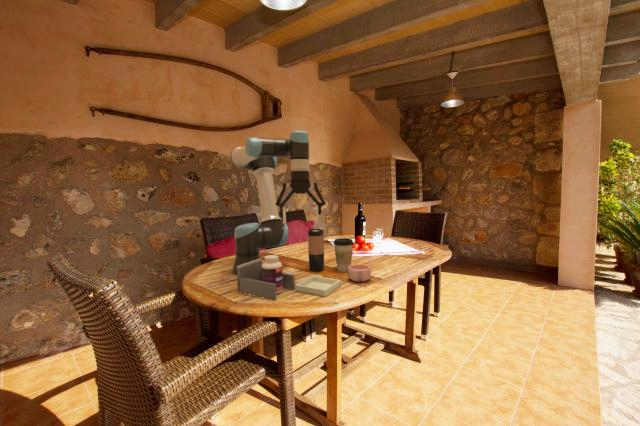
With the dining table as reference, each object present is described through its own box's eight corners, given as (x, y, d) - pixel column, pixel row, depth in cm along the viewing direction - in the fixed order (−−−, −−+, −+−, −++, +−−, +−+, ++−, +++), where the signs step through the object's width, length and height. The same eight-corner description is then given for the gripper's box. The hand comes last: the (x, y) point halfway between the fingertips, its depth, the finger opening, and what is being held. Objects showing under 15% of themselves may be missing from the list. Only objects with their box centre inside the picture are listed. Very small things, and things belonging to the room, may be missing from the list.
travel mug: (326, 268, 152) (325, 229, 150) (321, 272, 145) (320, 231, 143) (312, 267, 154) (311, 228, 152) (306, 271, 147) (305, 231, 145)
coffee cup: (332, 267, 153) (332, 238, 152) (351, 266, 154) (351, 237, 152) (335, 273, 143) (334, 242, 142) (355, 272, 144) (355, 241, 143)
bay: (238, 292, 120) (236, 266, 119) (260, 282, 132) (259, 258, 131) (274, 300, 111) (273, 271, 110) (294, 289, 123) (294, 263, 122)
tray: (295, 291, 120) (295, 285, 120) (312, 281, 132) (312, 275, 132) (325, 296, 114) (325, 290, 114) (340, 285, 126) (340, 280, 125)
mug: (373, 283, 128) (372, 269, 128) (349, 284, 128) (349, 270, 127) (367, 274, 140) (367, 262, 140) (345, 275, 140) (345, 263, 139)
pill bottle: (279, 296, 115) (277, 259, 114) (259, 295, 117) (257, 258, 116) (285, 289, 123) (284, 254, 122) (267, 288, 125) (265, 253, 124)
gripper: (267, 170, 119) (269, 224, 121) (330, 169, 117) (331, 223, 120) (271, 171, 126) (272, 221, 128) (330, 170, 125) (331, 221, 127)
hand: (301, 222), depth 124 cm, fingers open, 13 cm apart
